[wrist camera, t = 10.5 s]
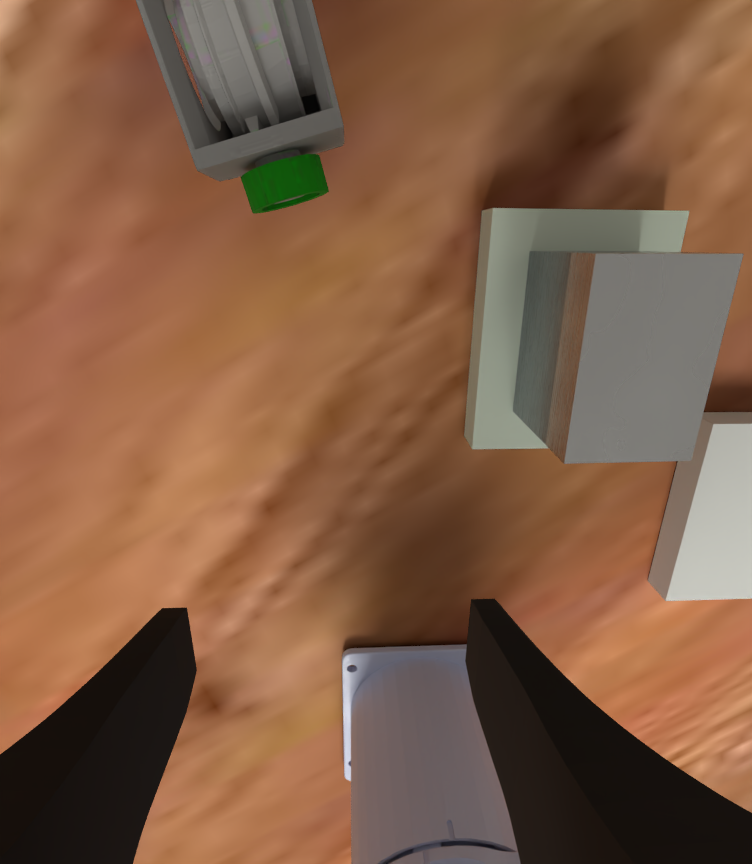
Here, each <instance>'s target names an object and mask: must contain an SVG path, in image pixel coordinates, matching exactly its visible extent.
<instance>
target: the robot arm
mask: <svg viewBox="0 0 752 864" xmlns="http://www.w3.org/2000/svg"><path fill="white" fill-rule="evenodd" d="M349 665H355V666H349ZM196 671H197V669H196V662H195V656H194V650H193V643H192V637H191V631H190V625H189V618H188V612H187V608H162V609H161V610H160V611H159V612H158V613H157V614H156V615H155V616H154V617H153V618H152V619H151V620H150V621H149V622H148V623H147V624H146V625H145V626H144V627H143V628H142V629H141V630H140V631H139V632H138V633H137V634H136V635H135V636H134V637H133V638H132V639H131V640H130V641H129V642H128V643H127V644H126V645H125V646H124V647H123V648H122V649H121V650H120V651H119V652H118V653H117V654H116V655H115V656H114V657H113V658H112V659H111V660H110V661H109V662H108V663H107V664H106V665H105V666H104V667H103V668H102V669H101V670H100V671H99V672H97V673H96V674H95V675H94V676H93V677H92V678H91V679H90V680H89V681H88V682H87V683H86V684H85V685H84V686H82V687H81V688H80V689H79V690H78V691H77V692H76V693H75V694H74V695H73V696H71V697H70V698H69V699H68V700H67V701H66V702H65V703H64V704H63V705H61V706H60V707H59V708H58V709H57V710H56V711H55V712H53V713H52V714H51V715H50V716H49V717H47V718H46V719H45V720H44V721H43V722H41V723H40V724H39V725H38V726H36V727H35V728H34V729H33V730H31V731H30V732H29V733H28V734H26V735H25V736H24V737H22V738H21V739H20V740H19V741H17V742H16V743H15V744H14V745H12V746H11V747H10V748H8V749H7V750H6V751H4V752H3V753H2V754H0V864H133V861H134V857H135V854H136V850H137V847H138V843H139V840H140V837H141V833H142V831H143V828H144V825H145V822H146V819H147V816H148V813H149V810H150V807H151V805H152V802H153V800H154V797H155V794H156V792H157V789H158V786H159V784H160V781H161V778H162V776H163V773H164V771H165V768H166V765H167V763H168V760H169V757H170V755H171V752H172V749H173V747H174V744H175V741H176V739H177V736H178V733H179V731H180V728H181V725H182V723H183V720H184V717H185V714H186V711H187V707H188V704H189V700H190V696H191V692H192V688H193V684H194V680H195V675H196ZM342 684H343V735H344V776H345V778H346V779H347V780H349V781H351V864H752V813H751V812H749V811H747V810H745V809H744V808H742V807H740V806H738V805H737V804H735V803H733V802H731V801H730V800H728V799H726V798H724V797H723V796H721V795H719V794H718V793H716V792H715V791H713V790H712V789H710V788H708V787H707V786H705V785H704V784H702V783H701V782H699V781H698V780H696V779H694V778H693V777H691V776H690V775H688V774H687V773H685V772H684V771H682V770H681V769H679V768H678V767H676V766H675V765H673V764H672V763H670V762H669V761H668V760H666V759H665V758H663V757H662V756H660V755H659V754H658V753H656V752H655V751H654V750H652V749H651V748H649V747H648V746H647V745H645V744H644V743H643V742H641V741H640V740H639V739H637V738H636V737H635V736H633V735H632V734H631V733H629V732H628V731H627V730H626V729H624V728H623V727H622V726H620V725H619V724H618V723H617V722H616V721H614V720H613V719H612V718H611V717H610V716H608V715H607V714H606V713H605V712H604V711H602V710H601V709H600V708H599V707H598V706H596V705H595V704H594V703H593V702H592V701H591V700H590V699H588V698H587V697H586V696H585V695H584V694H583V693H582V692H581V691H580V690H579V689H578V688H577V687H576V686H575V685H574V684H573V683H571V682H570V681H569V680H568V679H567V678H566V677H565V676H564V675H563V674H562V673H561V672H560V671H559V670H558V669H557V668H556V667H555V666H554V665H553V664H552V662H551V661H550V660H549V659H548V658H547V657H546V656H545V655H544V654H543V653H542V652H541V651H540V650H539V649H538V648H537V647H536V645H535V644H534V643H533V642H532V641H531V640H530V639H529V638H528V637H527V635H526V634H525V633H524V632H523V631H522V630H521V629H520V627H519V626H518V625H517V624H516V623H515V622H514V621H513V619H512V618H511V617H510V616H509V615H508V613H507V612H506V611H505V610H504V609H503V608H502V606H501V605H500V604H499V603H498V602H497V601H496V600H495V599H471V607H470V617H469V627H468V638H467V644H464V645H434V646H405V647H375V648H351V649H347V650H345V651H344V652H343V654H342Z"/></svg>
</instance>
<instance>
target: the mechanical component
mask: <svg viewBox="0 0 752 864" xmlns="http://www.w3.org/2000/svg"><path fill="white" fill-rule="evenodd" d="M136 2H137V5H138V8H139V11H140V13H141V16H142V19H143V22H144V25H145V27H146V30H147V33H148V36H149V38H150V41H151V44H152V47H153V49H154V52H155V55H156V58H157V61H158V63H159V66H160V69H161V72H162V74H163V77H164V80H165V83H166V86H167V88H168V91H169V94H170V97H171V99H172V102H173V105H174V108H175V111H176V113H177V116H178V119H179V122H180V124H181V127H182V130H183V133H184V135H185V138H186V141H187V144H188V147H189V149H190V152H191V155H192V158H193V160H194V163H195V166H196V169H197V171H199V172H201V173H203V174H205V175H207V176H209V177H211V178H213V179H216V180H218V181H223V180H226V179H228V180H230V179H233V178H236V177H240V176H242V177H241V179H242V182H243V185H244V188H245V191H246V194H247V197H248V200H249V203H250V206H251V209H252V212H253V213H264V212H269V211H273V210H278V209H282V208H285V207H289V206H293V205H296V204H299V203H302V202H305V201H308V200H311V199H314V198H317V197H319V196H322V195H324V194H326V193H327V192H329V190H328V186H327V183H326V179H325V175H324V172H323V168H322V164H321V161H320V157H319V155H317V154H316V153H320V152H323V151H326V150H330V149H333V148H336V147H340V146H343V144H344V125H343V121H342V117H341V114H340V110H339V106H338V102H337V98H336V94H335V90H334V86H333V82H332V78H331V74H330V70H329V66H328V62H327V59H326V55H325V51H324V47H323V43H322V39H321V35H320V31H319V27H318V23H317V19H316V15H315V11H314V7H313V3H312V0H136ZM168 19H169V20H168ZM169 21H170V23H171V25H172V27H173V29H174V31H175V33H176V35H177V37H178V39H179V42H180V44H181V46H182V48H183V51H184V53H185V55H186V58H187V60H188V63H189V66H190V68H191V71H192V73H193V76H194V79H195V82H196V84H197V87H198V90H199V94H200V97H201V100H202V103H203V107H204V109H203V107H202V105H201V103H200V101H199V99H198V97H197V94H196V92H195V90H194V88H193V85H192V83H191V81H190V78H189V76H188V74H187V71H186V69H185V66H184V63H183V61H182V58H181V56H180V53H179V50H178V47H177V45H176V42H175V39H174V36H173V33H172V30H171V26H170V23H169Z"/></svg>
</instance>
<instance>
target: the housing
mask: <svg viewBox="0 0 752 864" xmlns="http://www.w3.org/2000/svg"><path fill="white" fill-rule="evenodd" d="M742 258H743V254H735V253H696V252H658V251H530V253H529V262H528V272H527V281H526V290H525V300H524V309H523V319H522V328H521V338H520V347H519V356H518V366H517V375H516V385H515V394H514V403H513V412H514V413H515V414H516V415H517V416H518V417H519V418H520V419H521V420H522V421H523V422H524V423H525V424H526V425H527V426H528V427H529V428H530V429H531V430H532V431H533V432H534V433H535V434H536V436H537V437H538V438H539V439H540V440H541V441H542V442H543V443H544V444H545V445H546V446H547V447H548V448H549V449H550V450H551V451H552V452H553V453H554V454H555V455H556V456H557V457H558V458H559V459H560V460H561V461H562V462H563V463H564V464H568V463H614V462H660V461H691V460H692V456H693V452H694V448H695V444H696V440H697V436H698V432H699V428H700V424H701V420H702V416H703V412H704V408H705V404H706V400H707V396H708V392H709V388H710V384H711V381H712V377H713V373H714V369H715V365H716V361H717V357H718V353H719V349H720V345H721V341H722V337H723V333H724V329H725V325H726V321H727V317H728V313H729V309H730V305H731V301H732V297H733V294H734V290H735V286H736V282H737V278H738V274H739V270H740V266H741V262H742Z"/></svg>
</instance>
